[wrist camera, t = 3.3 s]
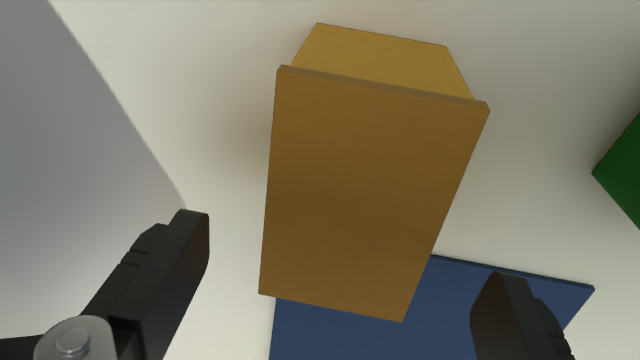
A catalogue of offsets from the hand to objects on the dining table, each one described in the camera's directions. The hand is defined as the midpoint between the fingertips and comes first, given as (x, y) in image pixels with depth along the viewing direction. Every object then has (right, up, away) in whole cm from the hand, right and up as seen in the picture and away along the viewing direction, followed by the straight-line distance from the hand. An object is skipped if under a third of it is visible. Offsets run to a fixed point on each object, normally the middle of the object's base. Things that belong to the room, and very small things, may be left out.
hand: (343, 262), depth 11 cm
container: (+1, +5, +8) cm, 9 cm away
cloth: (+5, -8, +16) cm, 18 cm away
